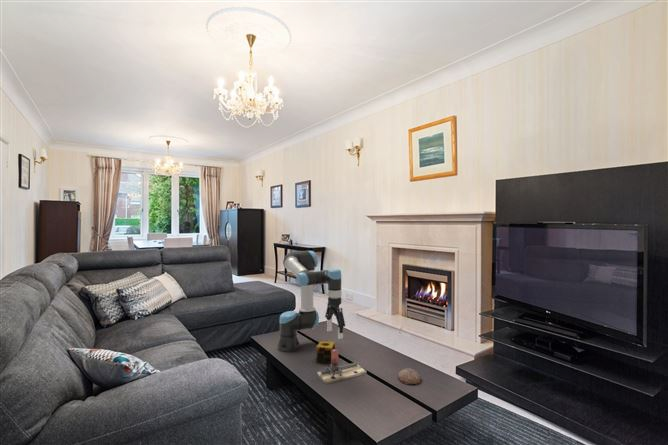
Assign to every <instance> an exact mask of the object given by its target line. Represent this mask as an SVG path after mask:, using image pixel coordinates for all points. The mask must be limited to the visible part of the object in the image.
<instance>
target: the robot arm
mask: <svg viewBox="0 0 668 445" xmlns="http://www.w3.org/2000/svg"><path fill="white" fill-rule="evenodd" d="M318 262H319V260H318V255H317V254H316V252H315V251H313V250H297V251H294V250H293V251H290V252H288V253H287V254H286V255H285V256H284V257H283V260H282V264H283V267H284V268H285V269H286V270H288V271H290V272H291V273H292V274H293V275H294V276H295V277H296V284H297V286H299V287H300V308H299V309H298V312H297V311H296V310H289V311H284V312H282V313H281V314H280V315H279V336H278V341H277V343H276V344H277V345H276V346H277V348H276V349H277V350H278V351H281V352H293V351H296V350H298V349H300V346H301V345H300V340H299V336H298V331H304V330H313V329H316V328H317V326H318V325H319V321H320V316H319V312H318V311H317V310H316V308H315V307H314V285H315V286H316V285H324V284H326V285H327V296H328V297H327V307H326V311H325V316H324V317H325V319H326V323H327V324H326V331H327V332H332V331H333V316H335V319H336V321H337V324H338V326H337V339H338V340H341V339H344V327H346V322H345V318H344V313H343V307H340V305H341V304H342V271H341V269H338V268H330V269H322V270H320V271H319V270H318V271H315V270H316V269H315V268H317V266H318V264H319V263H318Z"/></svg>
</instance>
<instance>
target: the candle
mask: <svg viewBox="0 0 668 445" xmlns="http://www.w3.org/2000/svg"><path fill="white" fill-rule="evenodd" d="M315 348H316V359H315V361H316V362H315V363H316V364H322V365H323V364H328V365H330V364H331V350H332V349H336V342H335V341H328V340H327V341H325V340H320V341H319V342H318V344H317V345H316V347H315Z"/></svg>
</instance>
